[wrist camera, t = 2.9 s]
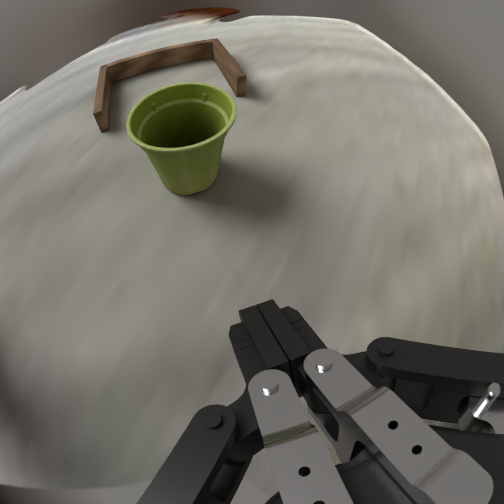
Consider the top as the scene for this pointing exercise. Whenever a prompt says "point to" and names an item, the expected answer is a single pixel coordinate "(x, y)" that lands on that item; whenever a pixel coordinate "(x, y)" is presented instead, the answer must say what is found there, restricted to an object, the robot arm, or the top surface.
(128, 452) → the top surface
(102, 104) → the wooden u bracket
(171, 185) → the plant pot
